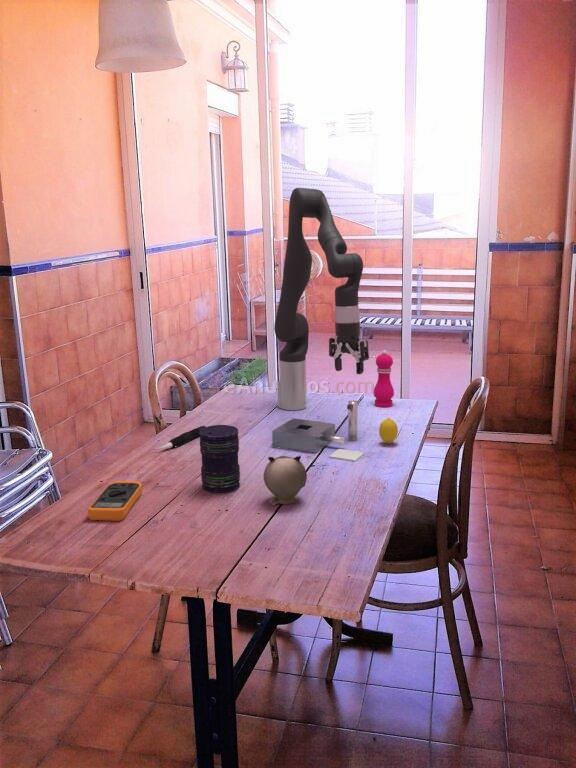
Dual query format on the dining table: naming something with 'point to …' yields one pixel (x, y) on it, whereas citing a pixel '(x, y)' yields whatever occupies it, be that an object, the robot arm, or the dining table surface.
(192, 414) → the dining table surface
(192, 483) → the dining table surface
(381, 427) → the lemon
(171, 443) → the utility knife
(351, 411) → the chuck key
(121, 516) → the multimeter
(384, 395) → the pepper mill
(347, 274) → the robot arm
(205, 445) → the camera lens
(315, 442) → the block
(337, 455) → the mat
